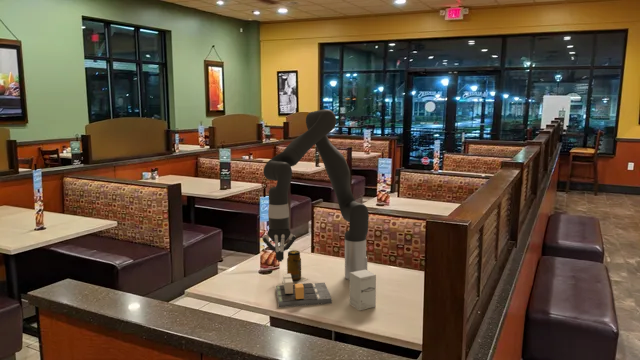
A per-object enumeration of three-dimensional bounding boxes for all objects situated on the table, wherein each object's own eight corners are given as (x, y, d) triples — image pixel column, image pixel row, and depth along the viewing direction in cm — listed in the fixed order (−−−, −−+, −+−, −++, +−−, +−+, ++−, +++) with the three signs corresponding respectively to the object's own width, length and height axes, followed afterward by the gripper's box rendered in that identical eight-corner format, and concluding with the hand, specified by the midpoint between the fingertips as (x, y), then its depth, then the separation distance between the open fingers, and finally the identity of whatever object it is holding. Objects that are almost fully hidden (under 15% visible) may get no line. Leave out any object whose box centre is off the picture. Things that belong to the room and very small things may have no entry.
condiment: (296, 274, 216) (295, 248, 214) (307, 279, 209) (307, 252, 208) (282, 278, 211) (282, 251, 209) (294, 283, 205) (293, 256, 203)
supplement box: (359, 311, 176) (359, 278, 174) (349, 304, 183) (348, 271, 181) (376, 307, 180) (376, 274, 178) (365, 300, 186) (365, 268, 184)
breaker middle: (292, 289, 191) (291, 278, 191) (293, 293, 187) (292, 282, 187) (284, 290, 191) (284, 279, 190) (285, 293, 187) (285, 282, 186)
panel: (324, 287, 200) (324, 282, 200) (331, 303, 184) (331, 297, 183) (276, 290, 197) (276, 285, 197) (278, 307, 181) (278, 301, 180)
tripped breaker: (302, 294, 186) (302, 283, 185) (303, 298, 182) (303, 287, 181) (294, 295, 186) (294, 283, 185) (295, 299, 182) (295, 287, 181)
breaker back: (290, 284, 197) (290, 273, 197) (291, 287, 193) (291, 276, 193) (283, 284, 197) (283, 273, 196) (284, 288, 193) (283, 277, 192)
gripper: (295, 212, 183) (296, 257, 185) (260, 214, 181) (261, 258, 183) (297, 217, 175) (298, 263, 178) (260, 218, 174) (262, 265, 176)
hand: (279, 260), depth 181 cm, fingers closed
